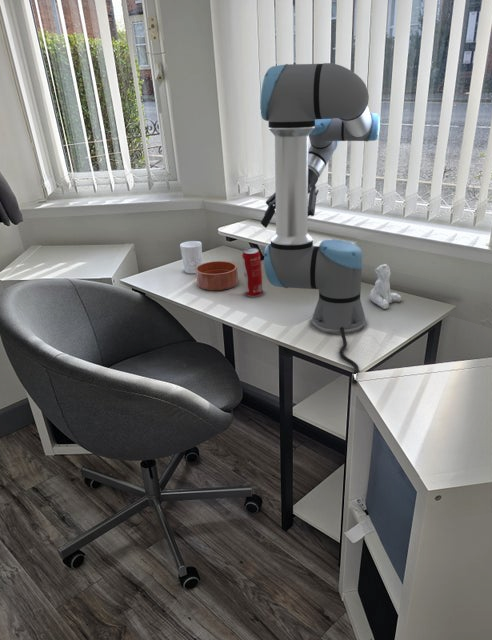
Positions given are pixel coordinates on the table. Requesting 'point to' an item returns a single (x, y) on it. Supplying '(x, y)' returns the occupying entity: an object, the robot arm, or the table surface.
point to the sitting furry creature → (383, 288)
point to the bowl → (217, 275)
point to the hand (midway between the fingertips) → (277, 228)
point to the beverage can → (252, 272)
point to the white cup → (191, 255)
